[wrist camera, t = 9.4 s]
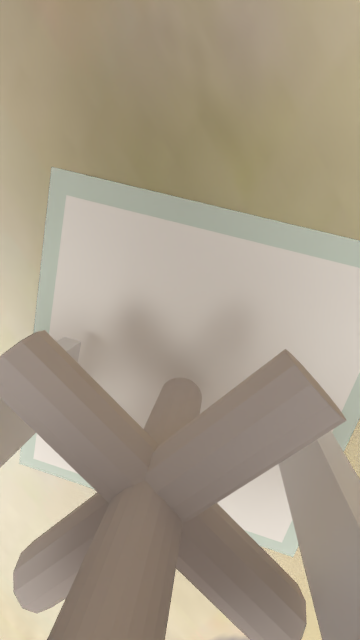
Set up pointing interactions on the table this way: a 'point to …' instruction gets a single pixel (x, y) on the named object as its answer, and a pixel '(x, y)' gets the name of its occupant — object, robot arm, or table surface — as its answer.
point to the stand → (195, 312)
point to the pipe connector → (159, 495)
